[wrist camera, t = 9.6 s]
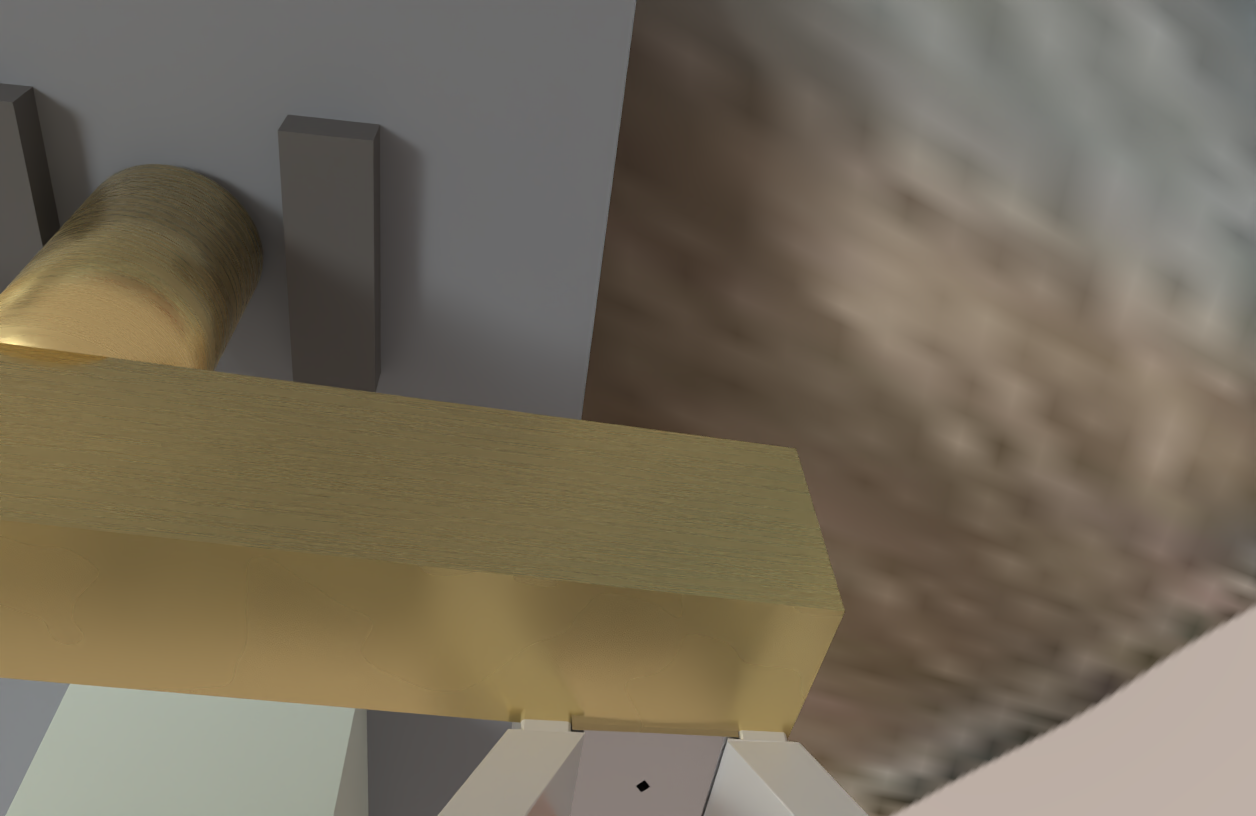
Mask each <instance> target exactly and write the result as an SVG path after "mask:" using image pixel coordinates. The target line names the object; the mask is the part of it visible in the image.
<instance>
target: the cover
mask: <svg viewBox="0 0 1256 816" xmlns="http://www.w3.org/2000/svg"><path fill="white" fill-rule="evenodd" d="M6 816H368V758H367V709H357V708H345V707H334V706H322V705H310V704H299V703H287V702H276V701H264V700H253V699H241V698H229V697H218V696H206V695H195V694H183V693H172V692H160V691H148V690H137V689H125V688H114V687H102V686H91V685H79V684H70V685H69V687H68V689H67V691H66V693H65V695H64V697H63V699H62V701H61V703H60V705H59V707H58V709H57V711H56V713H55V715H54V717H53V719H52V722H51V724H50V726H49V728H48V730H47V732H46V734H45V736H44V738H43V740H42V742H41V744H40V746H39V748H38V750H37V752H36V754H35V756H34V758H33V760H32V762H31V764H30V766H29V769H28V771H27V773H26V775H25V777H24V779H23V781H22V783H21V785H20V787H19V789H18V791H17V793H16V795H15V797H14V799H13V801H12V803H11V805H10V807H9V809H8V811H7V814H6Z"/></svg>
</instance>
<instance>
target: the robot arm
mask: <svg viewBox="0 0 1256 816" xmlns="http://www.w3.org/2000/svg"><path fill="white" fill-rule="evenodd" d="M438 816H869V815H868V814H867V813H866V812H865V811H864V810H863V809H862V808H861V807H860V806H859V805H858V804H857V803H856V801H855V800H854V799H853V798H852V797H851V796H850V795H849V794H848V793H847V792H846V791H845V790H844V789H843V788H842V787H841V786H840V785H839V784H838V782H837V781H836V780H835V779H834V778H833V777H832V776H831V775H830V774H829V773H828V772H827V771H826V770H825V769H824V768H823V767H822V766H821V764H820V763H819V762H818V761H817V760H816V759H815V758H814V757H813V756H812V755H811V754H810V753H809V752H808V751H807V750H806V749H805V748H804V747H803V745H802V744H801V743H800V742H789V741H787V737H786V734H785V733H784V732H768V731H748V730H741V731H739V732H738V731H733V730H706V729H680V728H655V727H639V726H623V725H607V724H590V723H574V722H572V724H571V723H570V722H567V721H549V720H530V719H524V720H522V721H521V723H519V722H512V729H508V730H507V731H506V732H505V733H504V735H503V736H502V737H501V738H500V740H499V741H498V742H497V743H496V745H495V746H494V747H493V748H492V749H491V751H490V752H489V753H488V754H487V756H486V757H485V758H484V759H483V760H482V762H481V763H480V764H479V765H478V767H477V768H476V769H475V770H474V771H473V773H472V774H471V775H470V776H469V778H468V779H467V780H466V781H465V783H464V784H463V785H462V786H461V787H460V789H459V790H458V791H457V792H456V794H455V795H454V796H453V797H452V798H451V800H450V801H449V802H448V803H447V805H446V806H445V807H444V808H443V810H442V811H441V812H440V813H439V814H438Z"/></svg>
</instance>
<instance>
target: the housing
mask: <svg viewBox="0 0 1256 816" xmlns="http://www.w3.org/2000/svg"><path fill="white" fill-rule="evenodd" d="M635 7H636V0H0V294H1V293H2V292H3V291H4V290H5V288H6V287H7V286H8V285H9V284H10V283H11V282H12V281H13V280H14V279H15V277H16V276H17V275H18V274H19V273H20V272H21V271H22V270H23V269H24V268H25V266H26V265H27V264H28V263H29V262H30V261H31V260H32V259H33V258H34V257H35V255H36V254H37V253H38V252H39V251H40V250H41V249H42V248H43V247H44V246H45V244H46V243H47V242H48V241H49V240H50V239H51V238H52V237H53V236H54V235H55V233H56V232H57V231H58V230H59V229H60V228H61V227H62V226H63V225H64V224H65V222H66V221H67V220H68V219H69V218H70V217H71V216H72V215H73V214H74V213H75V211H76V210H77V209H78V208H79V207H80V206H81V205H82V204H83V203H84V202H85V200H86V199H87V198H88V197H89V196H90V195H91V194H92V193H93V192H94V191H95V189H96V188H97V187H98V186H99V185H100V184H101V183H102V182H104V181H105V180H106V179H107V178H109V177H110V176H112V175H113V174H115V173H117V172H119V171H121V170H123V169H126V168H130V167H133V166H138V165H145V164H163V165H172V166H176V167H181V168H185V169H188V170H190V171H193V172H196V173H198V174H200V175H203V176H205V177H207V178H209V179H210V180H212V181H214V182H215V183H217V184H219V185H220V186H221V187H223V188H224V189H225V190H227V191H228V192H229V193H230V194H231V195H232V196H233V197H234V198H236V199H237V200H238V202H239V203H240V204H241V205H242V206H243V207H244V208H245V210H246V211H247V213H248V214H249V216H250V217H251V219H252V220H253V222H254V224H255V226H256V228H257V231H258V233H259V236H260V239H261V243H262V248H263V269H262V273H261V277H260V280H259V282H258V285H257V287H256V289H255V291H254V293H253V295H252V297H251V299H250V301H249V303H248V305H247V307H246V309H245V311H244V313H243V315H242V317H241V319H240V321H239V323H238V325H237V327H236V329H235V331H234V333H233V335H232V337H231V339H230V341H229V343H228V345H227V347H226V349H225V351H224V353H223V355H222V357H221V359H220V361H219V363H218V365H217V367H216V369H215V371H217V372H224V373H232V374H240V375H247V376H255V377H262V378H270V379H277V380H285V381H292V382H300V383H307V384H315V385H322V386H330V387H337V388H345V389H352V390H360V391H367V392H375V393H382V394H390V395H398V396H405V397H413V398H420V399H428V400H435V401H443V402H450V403H458V404H465V405H473V406H480V407H488V408H495V409H503V410H510V411H518V412H525V413H533V414H540V415H548V416H555V417H563V418H571V419H578V420H581V417H582V409H583V402H584V394H585V387H586V379H587V372H588V364H589V356H590V349H591V341H592V334H593V326H594V318H595V311H596V303H597V296H598V288H599V281H600V273H601V265H602V258H603V250H604V243H605V235H606V227H607V220H608V212H609V205H610V197H611V189H612V182H613V174H614V167H615V159H616V152H617V144H618V136H619V129H620V121H621V114H622V106H623V98H624V91H625V83H626V76H627V68H628V61H629V53H630V45H631V38H632V30H633V23H634V15H635ZM69 685H70V684H67V683H56V682H44V681H33V680H21V679H10V678H0V816H6V814H7V811H8V809H9V807H10V805H11V803H12V801H13V799H14V797H15V795H16V793H17V791H18V789H19V787H20V785H21V783H22V781H23V779H24V777H25V775H26V773H27V771H28V769H29V766H30V764H31V762H32V760H33V758H34V756H35V754H36V752H37V750H38V748H39V746H40V744H41V742H42V740H43V738H44V736H45V734H46V732H47V730H48V728H49V726H50V724H51V722H52V719H53V717H54V715H55V713H56V711H57V709H58V707H59V705H60V703H61V701H62V699H63V697H64V695H65V693H66V691H67V689H68V687H69ZM508 729H512V722H507V721H496V720H484V719H472V718H461V717H449V716H438V715H426V714H415V713H403V712H391V711H380V710H368V709H367V758H368V816H438V814H439V813H440V812H441V811H442V810H443V808H444V807H445V806H446V805H447V803H448V802H449V801H450V800H451V798H452V797H453V796H454V795H455V794H456V792H457V791H458V790H459V789H460V787H461V786H462V785H463V784H464V783H465V781H466V780H467V779H468V778H469V776H470V775H471V774H472V773H473V771H474V770H475V769H476V768H477V767H478V765H479V764H480V763H481V762H482V760H483V759H484V758H485V757H486V756H487V754H488V753H489V752H490V751H491V749H492V748H493V747H494V746H495V745H496V743H497V742H498V741H499V740H500V738H501V737H502V736H503V735H504V733H505V732H506V731H507V730H508Z"/></svg>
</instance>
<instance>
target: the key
mask: <svg viewBox="0 0 1256 816" xmlns="http://www.w3.org/2000/svg"><path fill="white" fill-rule="evenodd" d="M262 269H263V248H262V243H261V239H260V236H259V233H258V231H257V228H256V226H255V224H254V222H253V220H252V219H251V217H250V216H249V214H248V213H247V211H246V210H245V208H244V207H243V206H242V205H241V204H240V203H239V202H238V200H237V199H236V198H234V197H233V196H232V195H231V194H230V193H229V192H228V191H227V190H225V189H224V188H223V187H221V186H220V185H219V184H217V183H215V182H214V181H212V180H210V179H209V178H207V177H205V176H203V175H200V174H198V173H196V172H193V171H190V170H188V169H185V168H181V167H176V166H172V165H163V164H145V165H138V166H133V167H130V168H126V169H123V170H121V171H119V172H117V173H115V174H113V175H112V176H110V177H109V178H107V179H106V180H105V181H104V182H102V183H101V184H100V185H99V186H98V187H97V188H96V189H95V191H94V192H93V193H92V194H91V195H90V196H89V197H88V198H87V199H86V200H85V202H84V203H83V204H82V205H81V206H80V207H79V208H78V209H77V210H76V211H75V213H74V214H73V215H72V216H71V217H70V218H69V219H68V220H67V221H66V222H65V224H64V225H63V226H62V227H61V228H60V229H59V230H58V231H57V232H56V233H55V235H54V236H53V237H52V238H51V239H50V240H49V241H48V242H47V243H46V244H45V246H44V247H43V248H42V249H41V250H40V251H39V252H38V253H37V254H36V255H35V257H34V258H33V259H32V260H31V261H30V262H29V263H28V264H27V265H26V266H25V268H24V269H23V270H22V271H21V272H20V273H19V274H18V275H17V276H16V277H15V279H14V280H13V281H12V282H11V283H10V284H9V285H8V286H7V287H6V288H5V290H4V291H3V292H2V293H1V294H0V678H10V679H21V680H33V681H44V682H56V683H67V684H79V685H91V686H102V687H114V688H125V689H137V690H148V691H160V692H172V693H183V694H195V695H206V696H218V697H229V698H241V699H253V700H264V701H276V702H287V703H299V704H310V705H322V706H334V707H345V708H357V709H368V710H380V711H391V712H403V713H415V714H426V715H438V716H449V717H461V718H472V719H484V720H496V721H507V722H519V723H521V721H522V720H524V719H530V720H549V721H567V722H570V723H571V724H572V722H574V723H590V724H607V725H623V726H639V727H655V728H680V729H706V730H733V731H738V732H739V731H741V730H748V731H768V732H784V733H785V734H786V737H787V739H788V737H789V735H790V732H791V730H792V728H793V726H794V724H795V721H796V719H797V717H798V715H799V712H800V710H801V708H802V706H803V704H804V701H805V699H806V697H807V695H808V692H809V690H810V688H811V686H812V684H813V681H814V679H815V677H816V675H817V672H818V670H819V668H820V666H821V664H822V661H823V659H824V657H825V655H826V652H827V650H828V648H829V646H830V644H831V641H832V639H833V637H834V635H835V632H836V630H837V628H838V626H839V624H840V621H841V619H842V617H843V615H844V613H845V610H844V607H843V603H842V600H841V597H840V593H839V590H838V587H837V583H836V580H835V577H834V573H833V570H832V567H831V563H830V560H829V557H828V553H827V550H826V547H825V543H824V540H823V537H822V533H821V530H820V527H819V523H818V520H817V517H816V513H815V510H814V507H813V503H812V500H811V497H810V493H809V490H808V487H807V483H806V480H805V477H804V473H803V470H802V467H801V463H800V460H799V457H798V453H797V450H796V448H789V447H781V446H774V445H766V444H759V443H751V442H744V441H736V440H729V439H721V438H713V437H706V436H698V435H691V434H683V433H676V432H668V431H661V430H653V429H646V428H638V427H631V426H623V425H616V424H608V423H601V422H593V421H586V420H578V419H571V418H563V417H555V416H548V415H540V414H533V413H525V412H518V411H510V410H503V409H495V408H488V407H480V406H473V405H465V404H458V403H450V402H443V401H435V400H428V399H420V398H413V397H405V396H398V395H390V394H382V393H375V392H367V391H360V390H352V389H345V388H337V387H330V386H322V385H315V384H307V383H300V382H292V381H285V380H277V379H270V378H262V377H255V376H247V375H240V374H232V373H224V372H217V371H215V369H216V367H217V365H218V363H219V361H220V359H221V357H222V355H223V353H224V351H225V349H226V347H227V345H228V343H229V341H230V339H231V337H232V335H233V333H234V331H235V329H236V327H237V325H238V323H239V321H240V319H241V317H242V315H243V313H244V311H245V309H246V307H247V305H248V303H249V301H250V299H251V297H252V295H253V293H254V291H255V289H256V287H257V285H258V282H259V280H260V277H261V273H262Z"/></svg>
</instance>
